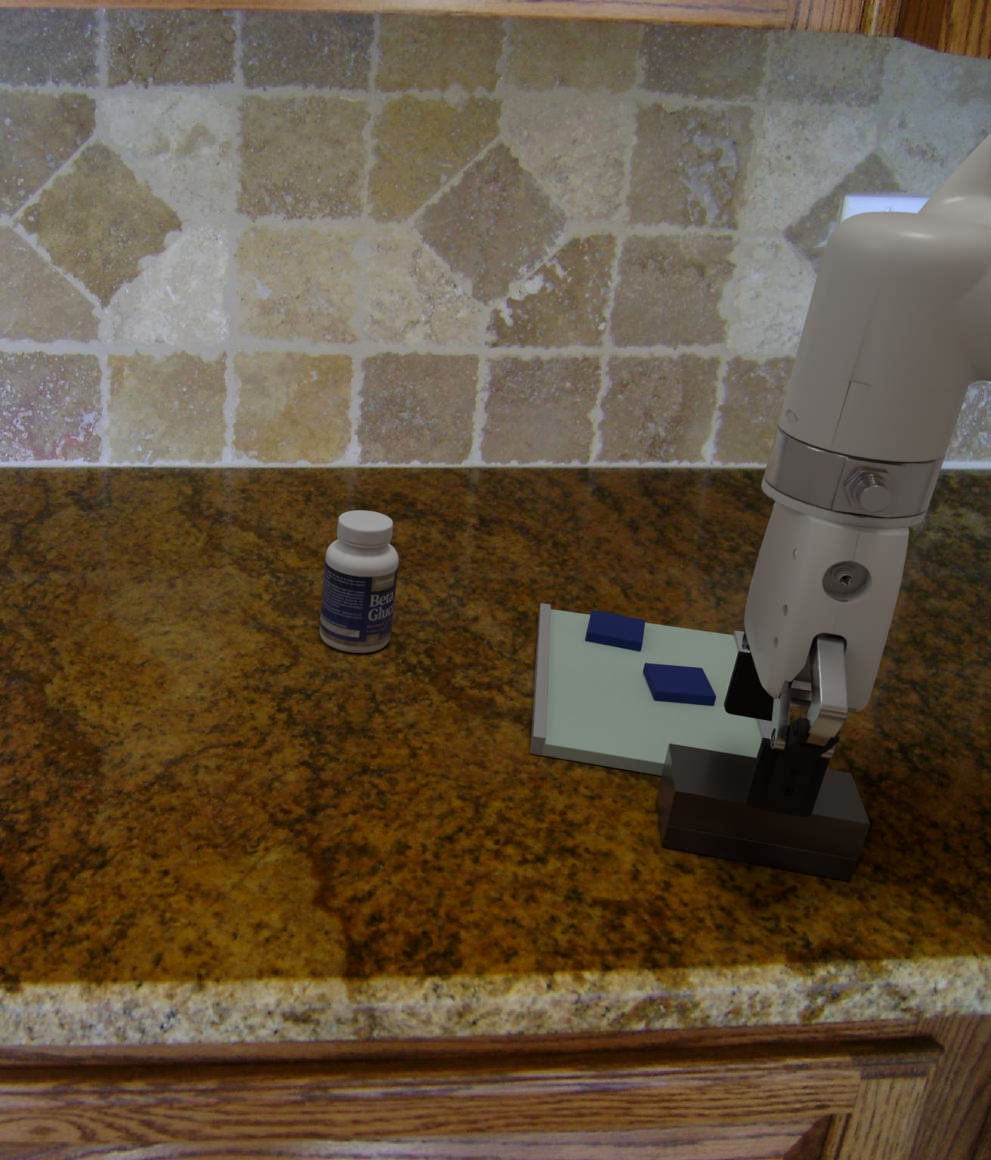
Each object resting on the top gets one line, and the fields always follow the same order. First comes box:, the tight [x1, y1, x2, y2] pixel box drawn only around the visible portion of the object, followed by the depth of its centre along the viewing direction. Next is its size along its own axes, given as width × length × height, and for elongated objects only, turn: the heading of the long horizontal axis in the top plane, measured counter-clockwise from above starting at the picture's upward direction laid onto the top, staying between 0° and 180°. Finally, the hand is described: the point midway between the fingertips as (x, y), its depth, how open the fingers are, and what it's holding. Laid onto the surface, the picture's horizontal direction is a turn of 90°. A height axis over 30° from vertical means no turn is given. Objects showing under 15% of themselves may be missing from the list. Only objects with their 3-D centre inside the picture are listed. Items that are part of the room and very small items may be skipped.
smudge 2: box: [643, 663, 716, 706], centre depth 81 cm, size 4×4×1 cm
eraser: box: [656, 743, 871, 882], centre depth 67 cm, size 10×5×4 cm, turn 75°
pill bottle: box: [319, 509, 400, 654], centre depth 87 cm, size 5×5×10 cm
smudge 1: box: [585, 609, 646, 651], centre depth 88 cm, size 4×4×1 cm
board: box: [529, 602, 772, 777], centre depth 82 cm, size 15×20×1 cm
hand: (763, 759), depth 65 cm, fingers open, 9 cm apart
